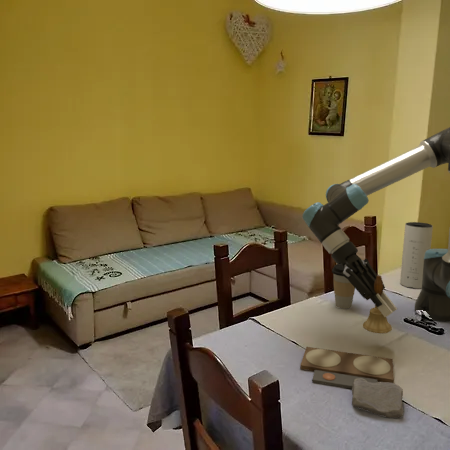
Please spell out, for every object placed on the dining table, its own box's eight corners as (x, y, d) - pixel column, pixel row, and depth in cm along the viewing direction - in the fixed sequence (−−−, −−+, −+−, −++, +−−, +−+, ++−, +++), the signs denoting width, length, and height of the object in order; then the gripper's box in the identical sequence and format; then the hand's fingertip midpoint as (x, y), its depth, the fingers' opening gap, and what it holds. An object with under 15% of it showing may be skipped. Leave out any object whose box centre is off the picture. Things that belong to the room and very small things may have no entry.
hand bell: (371, 335, 128) (374, 281, 124) (357, 322, 135) (359, 272, 132) (397, 331, 129) (401, 279, 126) (382, 320, 137) (385, 270, 134)
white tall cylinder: (430, 284, 186) (436, 222, 180) (422, 291, 178) (428, 227, 173) (405, 278, 193) (409, 219, 187) (396, 285, 185) (400, 223, 180)
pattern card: (377, 382, 116) (377, 378, 116) (377, 393, 111) (377, 389, 111) (314, 372, 121) (314, 369, 121) (312, 382, 116) (312, 378, 116)
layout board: (392, 362, 125) (392, 357, 125) (393, 383, 115) (393, 378, 115) (306, 350, 133) (306, 345, 133) (300, 369, 123) (300, 364, 123)
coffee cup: (354, 301, 169) (356, 263, 166) (358, 311, 160) (361, 271, 157) (328, 300, 170) (330, 262, 167) (332, 310, 161) (333, 270, 158)
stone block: (404, 427, 102) (402, 395, 110) (405, 411, 100) (403, 380, 109) (350, 419, 105) (352, 389, 114) (350, 404, 103) (352, 374, 112)
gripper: (344, 249, 144) (392, 311, 136) (319, 260, 133) (370, 328, 125) (360, 235, 139) (411, 298, 132) (335, 246, 128) (389, 315, 121)
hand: (391, 313), depth 128 cm, fingers closed on hand bell, 2 cm apart
